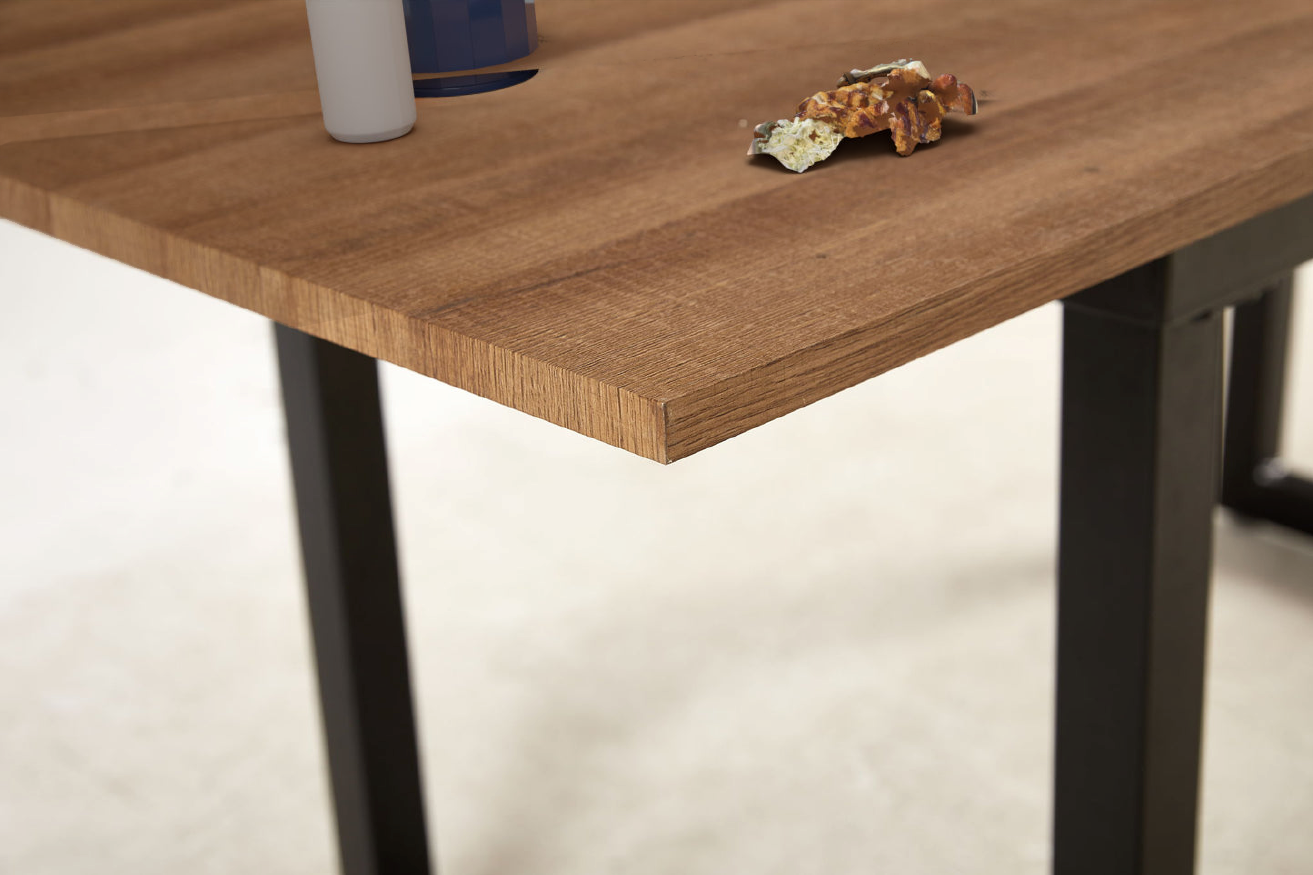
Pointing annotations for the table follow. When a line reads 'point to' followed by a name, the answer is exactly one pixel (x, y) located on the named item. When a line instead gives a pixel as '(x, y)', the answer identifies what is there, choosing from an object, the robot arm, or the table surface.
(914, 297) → the table surface
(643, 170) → the table surface
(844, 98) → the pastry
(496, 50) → the pot
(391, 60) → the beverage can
